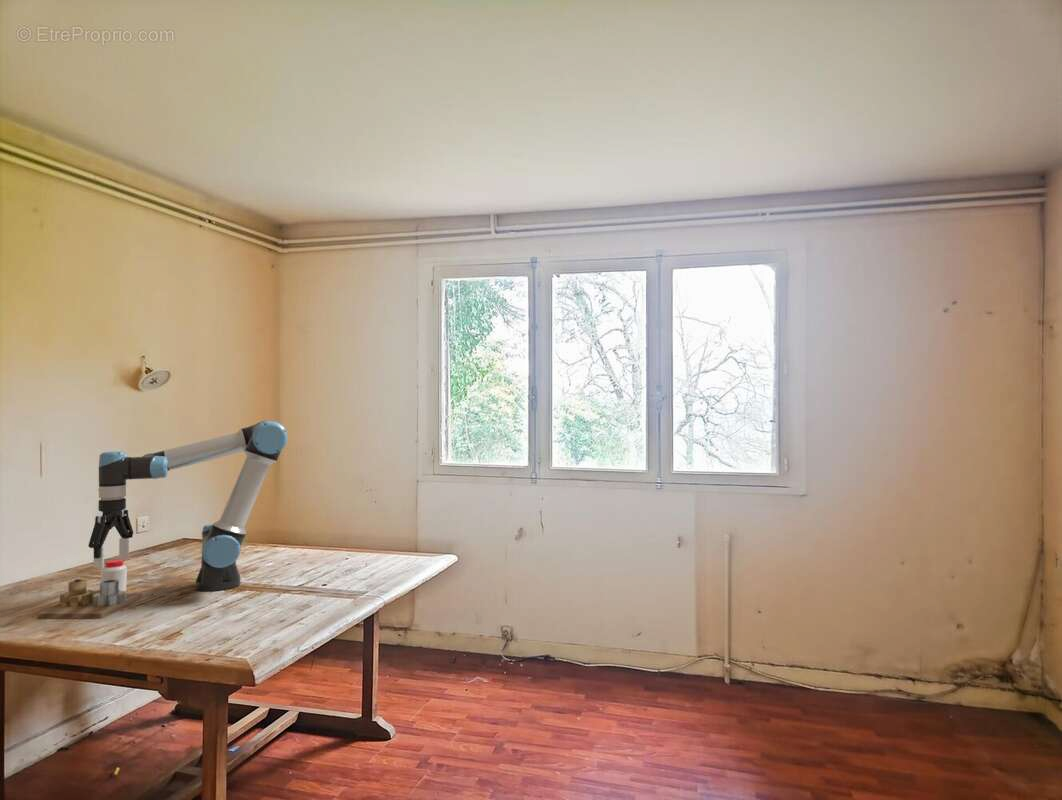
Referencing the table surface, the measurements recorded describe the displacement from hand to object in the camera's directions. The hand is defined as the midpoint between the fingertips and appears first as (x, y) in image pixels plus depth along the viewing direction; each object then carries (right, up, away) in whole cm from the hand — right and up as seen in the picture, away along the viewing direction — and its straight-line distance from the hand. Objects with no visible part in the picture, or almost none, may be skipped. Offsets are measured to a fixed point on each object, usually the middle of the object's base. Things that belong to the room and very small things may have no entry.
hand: (111, 562), depth 203 cm
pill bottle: (-11, -15, +17) cm, 25 cm away
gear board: (-6, -15, -1) cm, 16 cm away
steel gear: (-1, -13, -1) cm, 13 cm away
